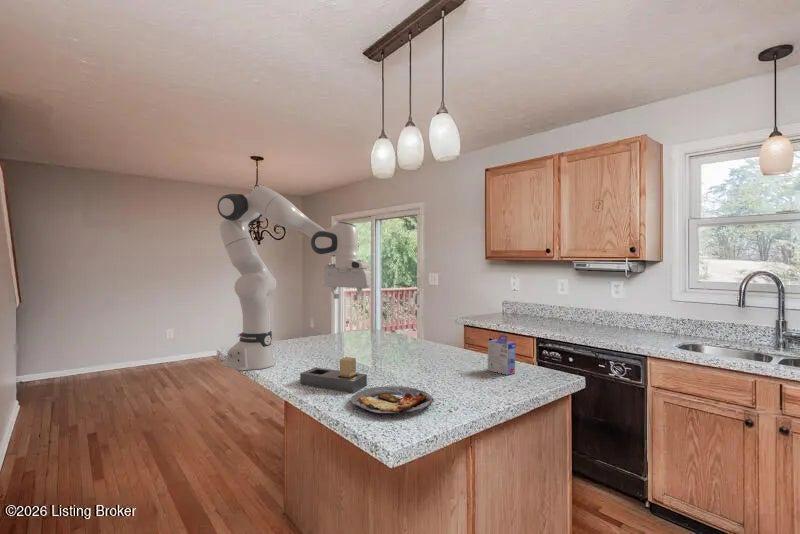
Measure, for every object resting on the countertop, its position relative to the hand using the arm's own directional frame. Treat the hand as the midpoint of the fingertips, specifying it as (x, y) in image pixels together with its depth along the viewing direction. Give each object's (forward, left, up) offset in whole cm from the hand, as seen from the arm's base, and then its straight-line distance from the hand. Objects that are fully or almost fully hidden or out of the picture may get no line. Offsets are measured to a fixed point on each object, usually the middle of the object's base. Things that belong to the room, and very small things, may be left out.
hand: (346, 299), depth 158 cm
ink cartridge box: (+55, +28, -29) cm, 68 cm away
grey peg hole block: (+4, -15, -29) cm, 33 cm away
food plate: (+31, -23, -30) cm, 49 cm away
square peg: (+10, -15, -29) cm, 34 cm away
